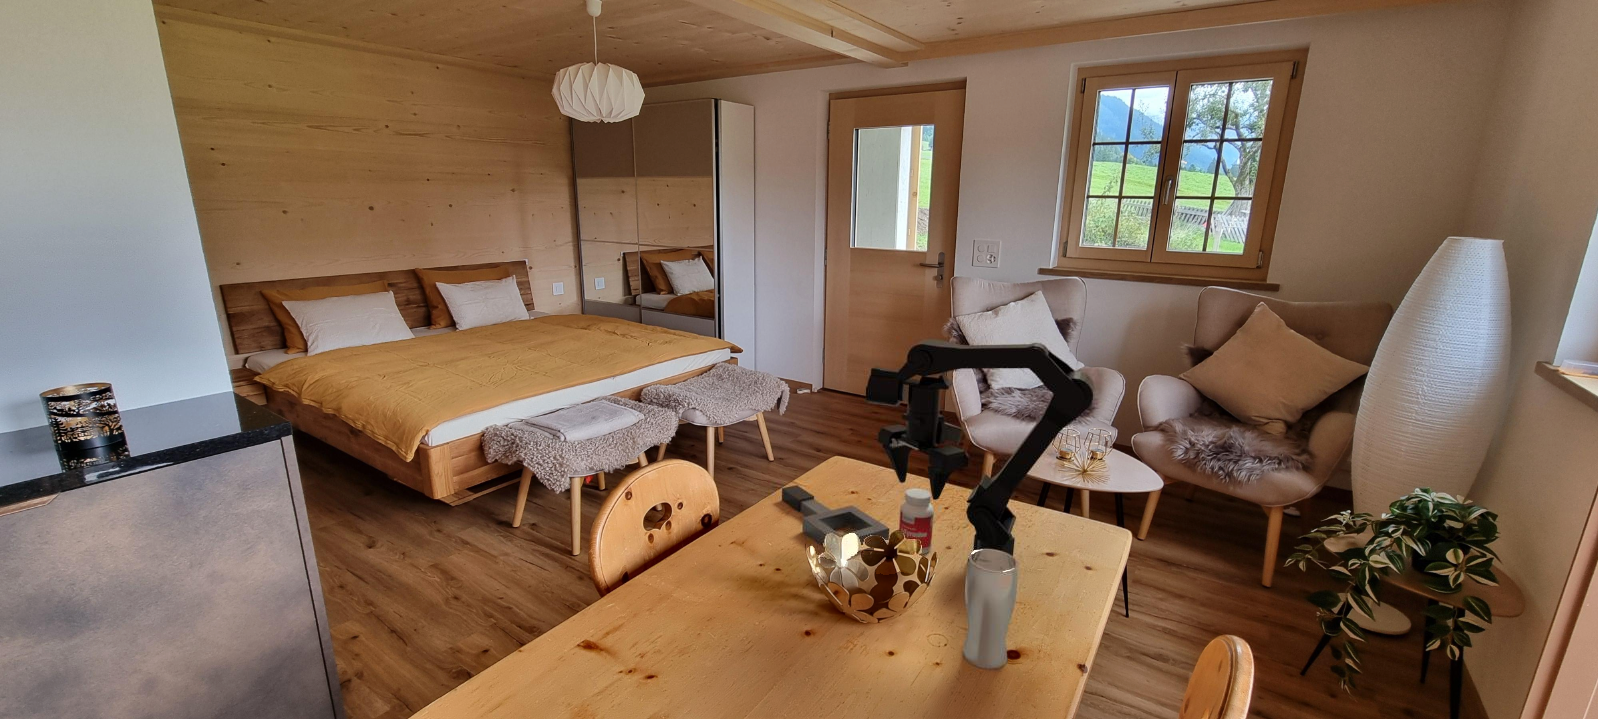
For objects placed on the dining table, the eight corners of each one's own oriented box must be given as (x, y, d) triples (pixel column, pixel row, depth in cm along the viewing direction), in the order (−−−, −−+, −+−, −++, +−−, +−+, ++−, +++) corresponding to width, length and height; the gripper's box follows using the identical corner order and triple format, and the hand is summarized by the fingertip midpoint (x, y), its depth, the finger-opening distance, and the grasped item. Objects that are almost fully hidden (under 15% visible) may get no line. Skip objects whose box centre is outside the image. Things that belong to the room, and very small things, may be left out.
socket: (888, 542, 132) (889, 528, 131) (837, 557, 126) (837, 542, 125) (812, 493, 154) (812, 480, 154) (765, 503, 148) (765, 490, 148)
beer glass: (972, 635, 103) (980, 542, 100) (1017, 654, 99) (1027, 558, 96) (951, 657, 98) (958, 560, 95) (997, 678, 94) (1007, 577, 91)
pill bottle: (894, 552, 128) (898, 496, 126) (901, 538, 134) (904, 484, 132) (928, 558, 126) (932, 501, 124) (933, 543, 132) (937, 489, 130)
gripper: (993, 416, 121) (987, 499, 124) (922, 392, 137) (918, 467, 140) (947, 425, 115) (941, 512, 119) (877, 399, 131) (874, 477, 134)
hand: (918, 490), depth 128 cm, fingers open, 9 cm apart
